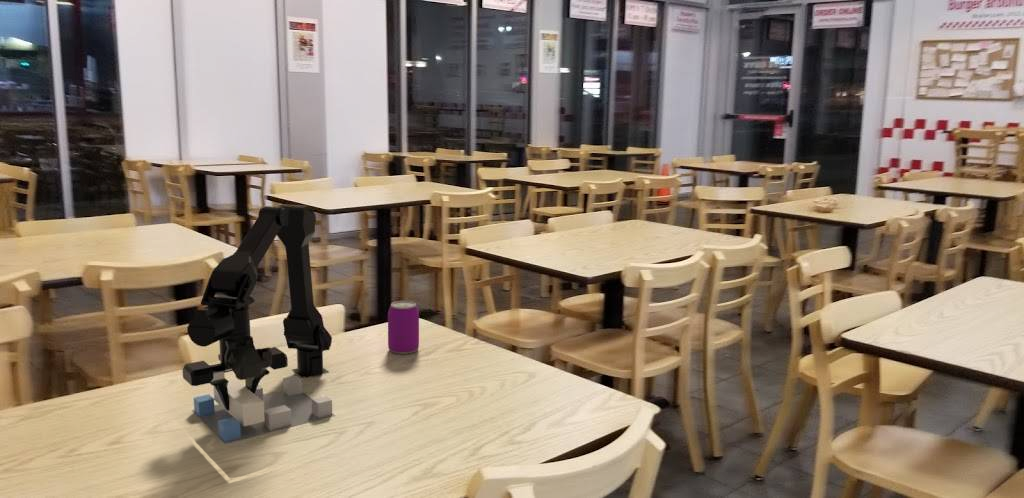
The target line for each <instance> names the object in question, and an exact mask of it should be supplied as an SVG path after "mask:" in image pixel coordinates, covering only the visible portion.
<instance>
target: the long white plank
mask: <svg viewBox="0 0 1024 498" xmlns="http://www.w3.org/2000/svg"><path fill="white" fill-rule="evenodd" d="M225 379H227V380H228V385H227V389H228V396H229V410H228V411H227V410H226V409H225V407H224V405H223V402H222V400H221V398H220V396H219V394H218V392H217V390H216V388H215V387H214V386H213V398H214V402H216V403H217V405H218V404H219V405H221V406H222V407H223V408H224V409H225V410H226V411H227V412H228V413H229V414H231V415H232V416H233V417H235V418H236V419H237V420H238V421H239V422H240V423H241V424H242V425H243V426H248V425H252V424H256V423H260V422H264V421H265V419H264V401H263V400H261V399H260V398H259V397H257V396H256V395H255V394H254V393H252V392H251V391H250V390H249V389H247V388H246V387H245V386H246V385H245V384H243V383H241V382H240V381H239V380H238V379H237V378H236V377H234V376H231V377H227V378H225Z"/></svg>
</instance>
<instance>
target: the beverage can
mask: <svg viewBox="0 0 1024 498" xmlns="http://www.w3.org/2000/svg"><path fill="white" fill-rule="evenodd" d="M387 334H388V335H387V348H388V349H389V351H391V353H393V354H396V353H397V355H408V354H407V353H410V354H413V353H415V352H416V351H417V350H418V349H419V346H420V311H419V308H418V306H417V303H416V302H414V301H410V300H398V301H393V302H392V303H391V304H390V306H389V309H388V312H387ZM412 352H413V353H412Z"/></svg>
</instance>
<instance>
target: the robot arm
mask: <svg viewBox="0 0 1024 498" xmlns="http://www.w3.org/2000/svg"><path fill="white" fill-rule="evenodd" d="M316 222H317V216H316V213H315V211H314V209H312V207H310V206H309V205H301V204H299V205H298V204H280V205H279V206H268V205H266V206H263V207H261V208H260V209H259V211H258V216H257V219H255V221H254V223H253V225H252V226H251V227H250V229H249V230H248V232H247V234H246V235H245V236H244V238H243V240H242V241H241V243H240V244H239V246H238V247H237V249H236V251H234V252H233V254H232V255H229V256H226V257H225V258H223V259H222V260H221V261H220V262H219V263H218V265H216V266H215V267H214V269H213V270H212V271H211V274H210V276H209V278H208V281H207V284H206V287H205V288H204V293H203V295H202V298H201V300H200V306H204V307H200V308H197V309H196V310H195V313H196V314H195V315H196V316H194V317H192V318H191V319H190V321H189V323H188V326H187V335H188V337H189V339H190V340H191V342H192V343H193V344H194V345H196V346H198V347H202V348H204V347H205V348H206V347H208V346H210V345H212V344H214V343H216V342H218V341H219V354H218V355H217V357H218V361H220V363H216V364H215V363H214V364H210V365H209V363H207V362H206V361H205V360H200V361H195V362H188V363H185V364H184V366H183V367H182V378H183V379H184V381H186V382H187V383H188V385H190V386H191V387H197V386H203V385H207V384H210V385H211V386H213V388H214V387H215V388H216V390H217V392H218V394H219V396H220V398H221V400H222V402H223V405H224V407H225V409H226V410H227V411H228V410H229V396H228V389H227V385H228V380H227V379H226V378H225V373H230V372H233V373H234V375H235V379H236V380H238V381H239V380H240V381H243V380H244V381H245V384H244V386H246V388H247V389H249V390H250V391H251V392H252V393H254V394H255V392H256V389H257V386H258V385H259V384H260V382H261V380H262V379H263V377H265V376H268V375H269V374H270V370H268V369H267V368H271V369H272V370H273V371H274V370H279V369H284V368H287V367H288V366H289V362H288V356H287V354H286V353H285V352H284V351H282V350H280V349H279V348H278V347H276V346H273V347H263V348H256V346H255V345H254V338H253V336H251V320H250V319H251V318H250V305H252V304H254V303H255V301H256V300H255V299H254V298H253V297H252V296H250V295H251V294H252V293H253V291H254V289H255V286H256V284H257V282H258V279H259V275H258V267H259V265H260V263H261V262H262V260H263V259H264V256H265V255H266V253H267V252H268V250H269V248H270V247H271V245H272V244H273V242H274V240H275V239H276V237H278V239H279V240H280V241H281V243H282V244H283V246H284V247H285V256H286V257H285V258H286V267H287V269H286V270H287V278H288V288H289V299H290V300H289V301H290V310H289V312H288V314H287V316H286V317H284V318H283V320H282V324H283V336H284V338H285V341H286V345H287V348H288V349H289V350H290V349H292V350H293V349H294V350H296V361H297V362H296V363H297V364H296V365H297V368H293V369H291V371H292V372H293V373H295V374H296V375H298V377H301V379H302V378H303V379H304V378H309V377H316V376H320V375H323V374H328V373H330V371H329V370H327V369H326V368H324V356H323V355H324V351H330V349H331V347H332V341H333V337H332V335H331V334H330V332H329V331H328V330H327V329H326V327H325V325H324V318H323V315H322V314H321V313H320V312H319V310H318V308H317V307H316V306H315V304H314V293H313V280H312V268H311V259H310V257H311V256H310V247H309V245H310V242H311V240H312V238H313V236H314V234H315V232H316Z"/></svg>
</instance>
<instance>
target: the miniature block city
mask: <svg viewBox="0 0 1024 498" xmlns="http://www.w3.org/2000/svg"><path fill="white" fill-rule="evenodd" d="M244 386H245V387H246V385H244ZM255 395H256V396H257V397H259V398H260V399H261V400H263V401H264V419H265V421H264V422H260V423H256V424H252V425H248V426H243V425H242V424H241V423H240V422H239V421H238V420H237V419H236V418H235V417H233V416H232V415H231V414H229V413H228V412H227V411H226V410H225V409H224V408H223V407H222V406H221V405H219V404H218V403H217V404H215V400H214V397H213V396H212V395H210V394H203V395H200V396H199V395H198V396H196V397H193V406H194V407H193V408H194V409H192V410H191V412H192V413H194V415H195V416H196V417H198V418H199V419H200V420H201V421H202V423H204V424H205V425H206V427H208V428H209V429H210V430H211V431H212V432H213V433H214V434H215V435H216V436H217V437H218V438H219V439H220V441H222V442H223V443H224V444H225V445H227V444H230V443H234V442H239V441H242V440H245V439H250V438H253V437H254V438H255V437H258V436H262V435H266V434H271V433H273V432H276V431H282V430H286V429H290V428H293V427H297V426H301V425H305V424H308V423H312V422H316V421H321V420H324V419H328V418H333V417H336V414H334V413H333V399H331V398H330V397H329V396H327V395H322V396H321V395H320V396H317V397H312V398H311V397H310V396H308V395H307V394H306V393H304V392H303V379H302V378H300V376H297V375H292V376H288V377H283V378H282V389H281V390H277V391H273V392H268V393H264V388H263V387H262V386H261V385H259V384H258V386H257V389H256V392H255Z"/></svg>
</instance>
